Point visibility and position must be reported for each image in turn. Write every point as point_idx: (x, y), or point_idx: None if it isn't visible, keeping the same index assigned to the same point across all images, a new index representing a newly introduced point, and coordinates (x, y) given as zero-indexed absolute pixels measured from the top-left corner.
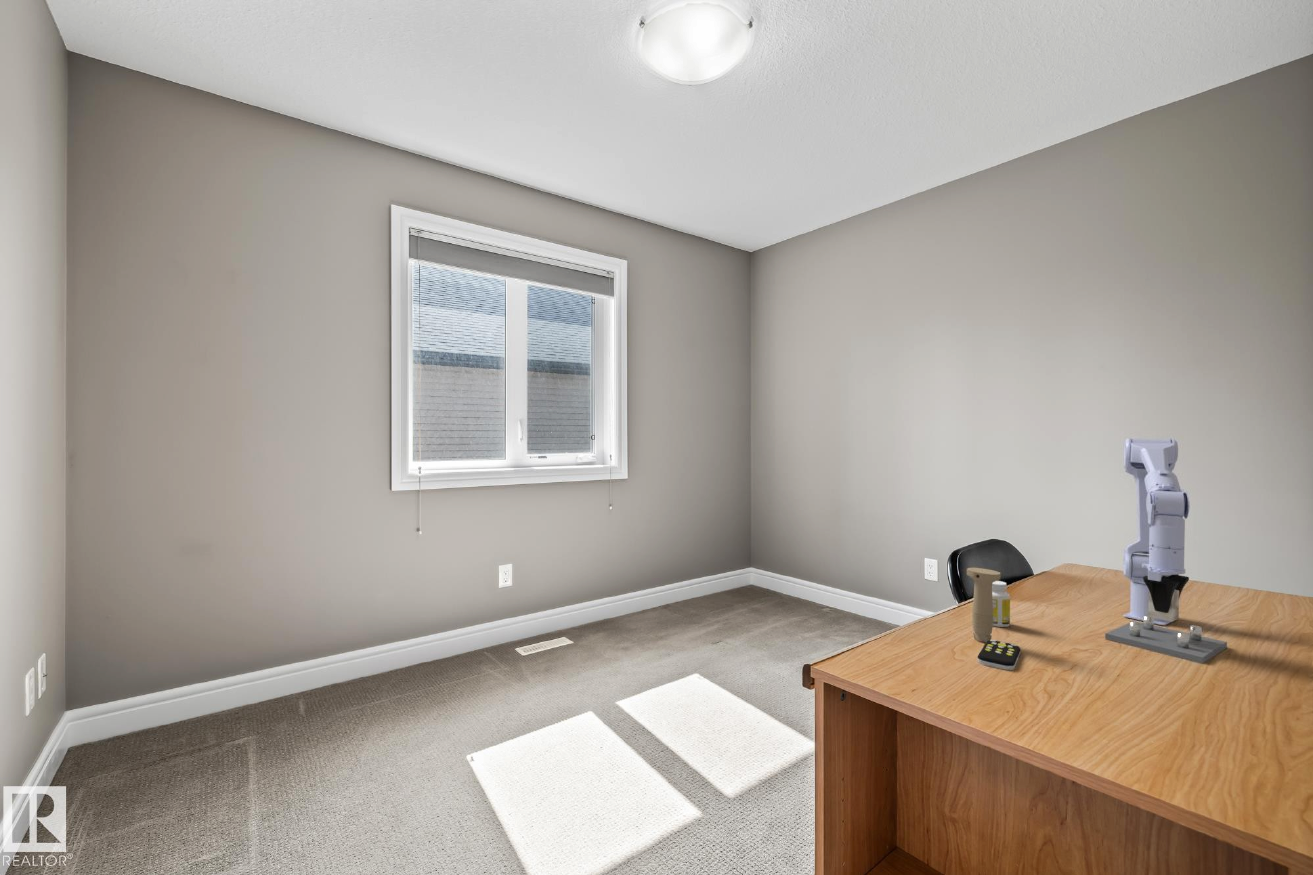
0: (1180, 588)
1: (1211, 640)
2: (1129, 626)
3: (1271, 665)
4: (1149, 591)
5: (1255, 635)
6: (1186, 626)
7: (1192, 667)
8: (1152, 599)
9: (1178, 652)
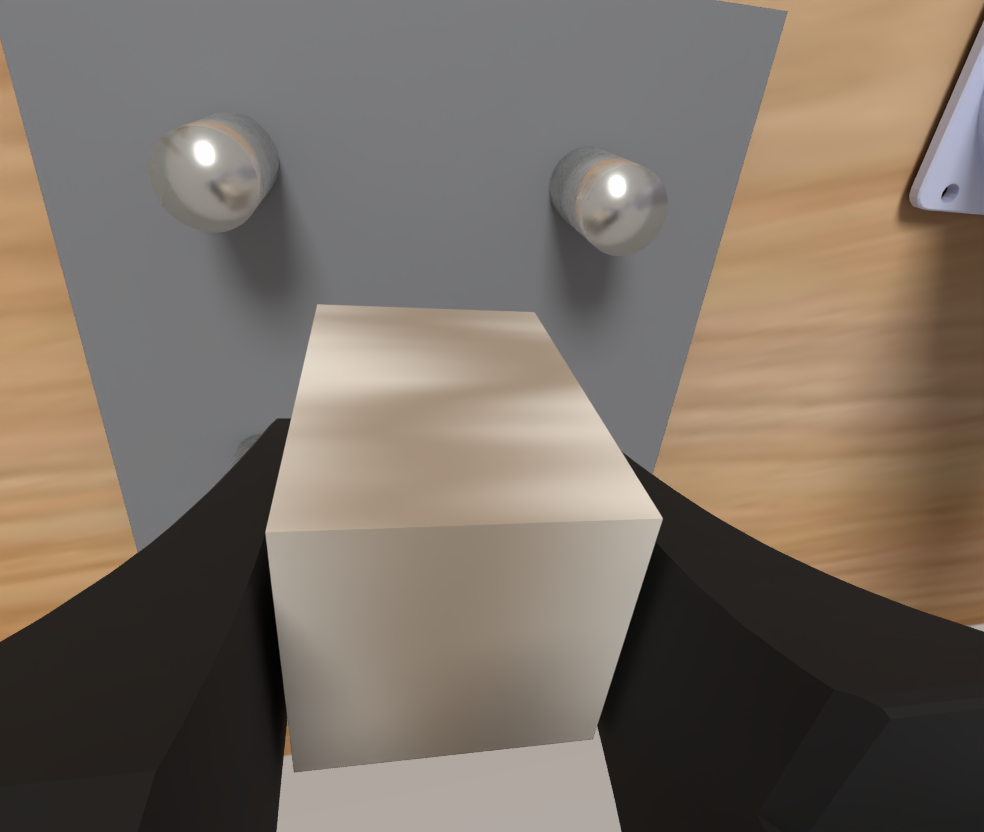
0: (611, 779)
1: None
2: (537, 34)
3: None
4: (274, 507)
5: (958, 533)
6: (979, 300)
7: (3, 534)
8: (214, 489)
9: (116, 468)
